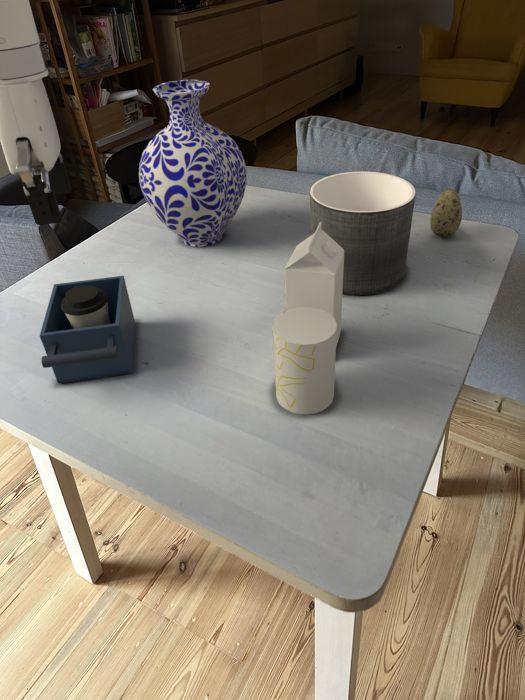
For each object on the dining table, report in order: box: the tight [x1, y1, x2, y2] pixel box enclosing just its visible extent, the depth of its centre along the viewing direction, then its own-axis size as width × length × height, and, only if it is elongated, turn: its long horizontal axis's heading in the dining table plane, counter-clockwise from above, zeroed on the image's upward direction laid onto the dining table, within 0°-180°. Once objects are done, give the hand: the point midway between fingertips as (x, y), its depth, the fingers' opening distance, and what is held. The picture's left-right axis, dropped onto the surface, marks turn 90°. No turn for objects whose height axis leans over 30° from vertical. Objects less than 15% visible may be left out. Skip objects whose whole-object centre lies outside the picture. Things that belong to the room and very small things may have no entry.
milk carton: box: [284, 222, 344, 347], centre depth 79 cm, size 7×7×19 cm
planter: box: [309, 171, 417, 296], centre depth 96 cm, size 18×18×16 cm
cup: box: [272, 307, 337, 415], centre depth 72 cm, size 8×8×12 cm
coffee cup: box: [61, 285, 110, 329], centre depth 83 cm, size 7×7×10 cm
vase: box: [138, 79, 248, 248], centre depth 107 cm, size 22×22×30 cm
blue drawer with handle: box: [39, 275, 136, 385], centre depth 81 cm, size 18×11×9 cm, turn 9°
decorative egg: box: [429, 188, 463, 239], centre depth 107 cm, size 6×6×10 cm
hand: (55, 207), depth 71 cm, fingers open, 9 cm apart
